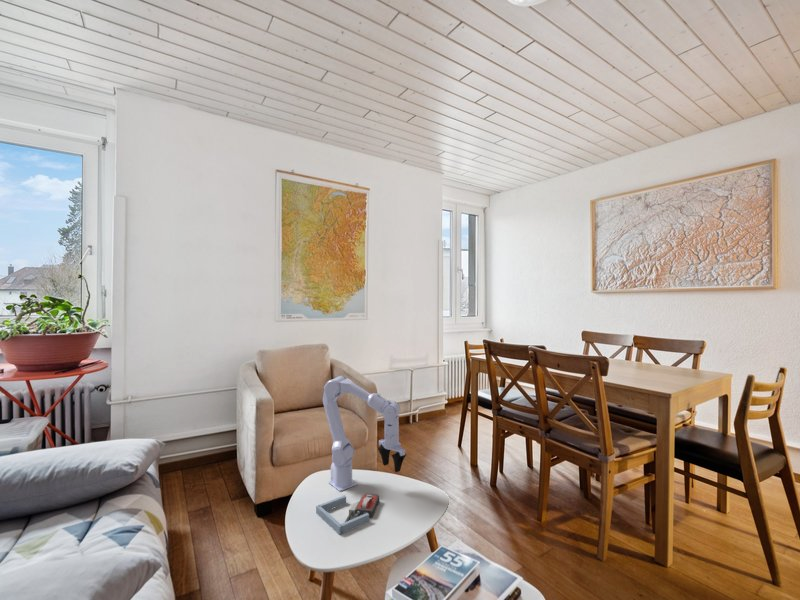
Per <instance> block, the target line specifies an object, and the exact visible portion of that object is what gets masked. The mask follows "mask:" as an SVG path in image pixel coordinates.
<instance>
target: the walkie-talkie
mask: <svg viewBox="0 0 800 600" xmlns="http://www.w3.org/2000/svg"><path fill="white" fill-rule="evenodd" d="M379 503H380V495H379V494H378V493H372V492H371V493H369V492H366V493H364V494H362V496H361V497H360V500H359V501H357V502H354V503H353V504H352V505H351V507H350V508H349V509H348V515H347V517H346V519H345V521H344V522H343V523H345V522H347V521H349V520H351V519H352V516H354V518H356V517H359V516H361V515H363V514H366V513H368V514H369V519H373V517H374V515H375V513H376V511H377V509H378V507H379Z"/></svg>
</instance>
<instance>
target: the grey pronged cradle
mask: <svg viewBox="0 0 800 600" xmlns="http://www.w3.org/2000/svg"><path fill="white" fill-rule="evenodd" d="M345 503H346V504H347V496H346V495H345V494H344V495H341V496H339V497H336V498H334V499H331V500H329V501H326V502H323V503H321V504H318V505H315V513H316V514H317V516H318V517H320V518H321V520H323V521H324V522H325V523H326V524H327V525H328V526H329V527H330V528H331V527H332V528H333V531H335V533H336V534H338V535H339V536H341V535H343V534H345V533H348V532H350V531H352V530H354V529H356V528H358V527H360V526H363V525H365V524H368V523H369V522H370V518H369V514H368V513H366V514H363V515H361V516H359V517H354V518H351V519H350V520H349V521H347V522H345V521H344V522H345V523H344V522H343V523H340V522H339V521H338V520H337V519H336V518H334V517H333V515H331V514H330V513H329V511H331V510H333V509H335V508H334V507H336V508H338V507H341V506H343V505H345ZM340 505H341V506H340ZM337 506H338V507H337ZM332 508H333V509H332ZM330 509H331V510H330ZM327 510H328V511H327Z"/></svg>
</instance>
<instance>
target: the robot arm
mask: <svg viewBox="0 0 800 600" xmlns="http://www.w3.org/2000/svg"><path fill="white" fill-rule="evenodd" d="M343 394H351V395H353V396H355V397H357V398H359V399H360V400H363V401H365V402H366V404H367V406H368V407H370V408H371V409H373V410H375V411H376V412H378V413H380V415H381V414H382V417H383V418H384V421H383V424H384V428H383V430H384V439H379V440H378V446H379V447H377V450H378V452H379V454H380V457H381V461H382V465H383V466H384V467H385V466H387V465H389V463H390V453H391V451H392V452H395V453H394V454H391V457H392V460H393V466H394V473H398V472H401V469H402V465H403V462H404V460H405V458H406V456H407V452H406V449H404V448H403V446H401V445H402V444H401V442H399V440H400V439H399V438H400V432H399V431H400V423H399V419H400V417H399V414H400V412H401V406H400V405H399V403H397V402H396V401H393V400H392V401H391V400H390V399H386V398H385V397H383V396H381V394H380V393H379V392H378V393H376V392H373V393H371V392H368V391H367V390H366V389H364V388H363V387H361V386H359V385H358V384H356V383H355V382H353V381H352V380H351V379H350V378H347V377H345V376H343V375H339V376H336V377H335V378H333V379H330V380H327V382H326V383H325V385H324V386H323V394H322V404H323V407H324V411H325V416H326V419H327V424H328V426H329V431H330V435H331V438H332V447H331V454H332V455H331V461H332V462H331V465H330V480H329V481H328V484H329V485H331V486H332V487H334V488H335V489H337V490H338V492H342V491H344V490H347V489H350V488H352V487H356V486H357V483H356V482H354V481H353V456H354V455H355V453H356V452H355V448H354V446H353V444H352V443H351V440H350V439H349V438H348V437H346V432H345V429H344V425H343V420H342V418H341V412H340V410H339V407H338V402H337V400H338V398H339V397H340V396H341V395H343Z"/></svg>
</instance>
